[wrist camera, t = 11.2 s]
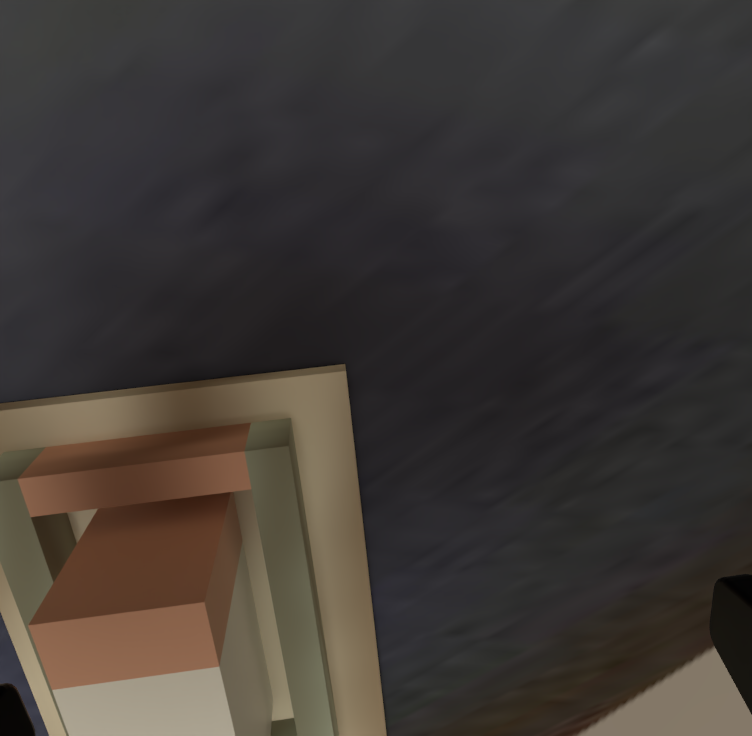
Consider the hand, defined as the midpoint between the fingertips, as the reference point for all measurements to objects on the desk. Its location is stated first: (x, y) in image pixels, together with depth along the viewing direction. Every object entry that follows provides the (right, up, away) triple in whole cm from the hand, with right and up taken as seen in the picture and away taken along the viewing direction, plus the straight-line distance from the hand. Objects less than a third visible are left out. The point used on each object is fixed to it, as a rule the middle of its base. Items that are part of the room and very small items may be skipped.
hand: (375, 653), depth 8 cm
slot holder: (-6, -4, +13) cm, 15 cm away
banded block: (-6, -5, +12) cm, 15 cm away
